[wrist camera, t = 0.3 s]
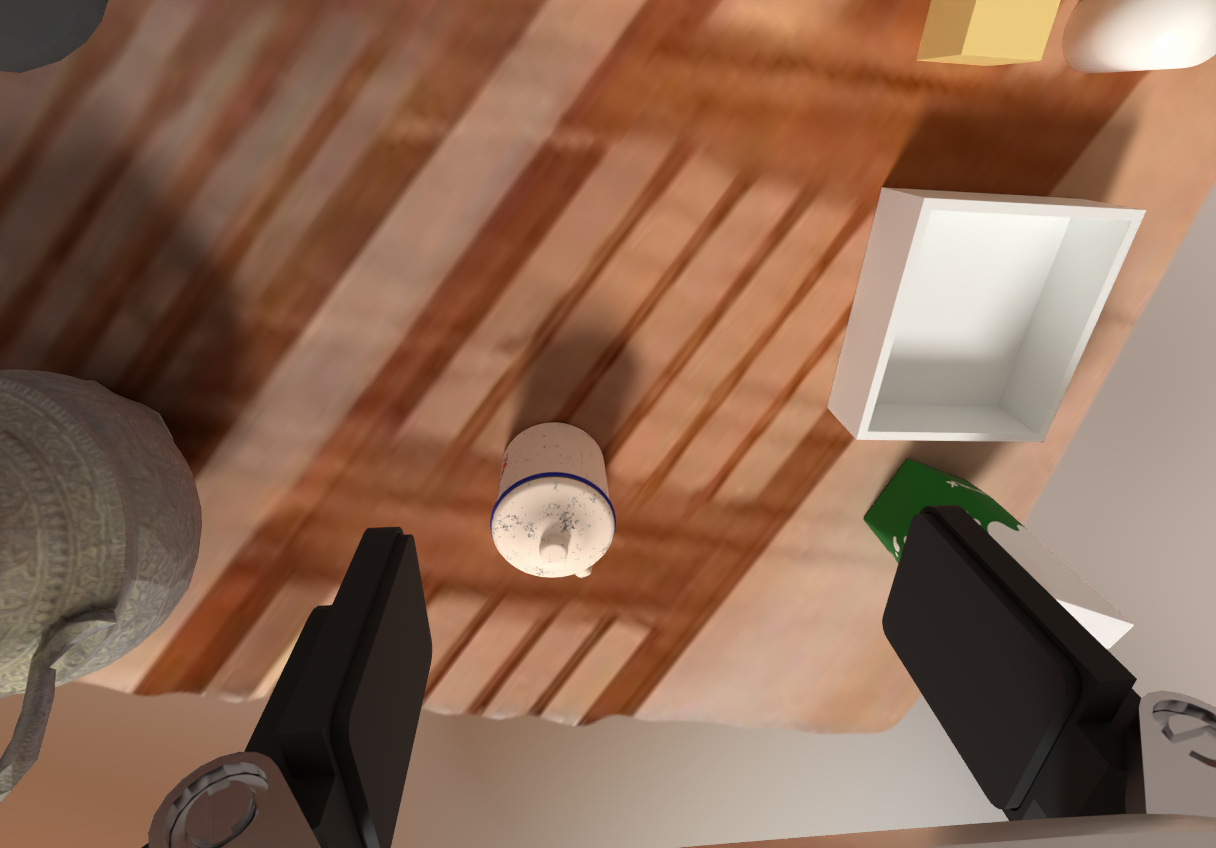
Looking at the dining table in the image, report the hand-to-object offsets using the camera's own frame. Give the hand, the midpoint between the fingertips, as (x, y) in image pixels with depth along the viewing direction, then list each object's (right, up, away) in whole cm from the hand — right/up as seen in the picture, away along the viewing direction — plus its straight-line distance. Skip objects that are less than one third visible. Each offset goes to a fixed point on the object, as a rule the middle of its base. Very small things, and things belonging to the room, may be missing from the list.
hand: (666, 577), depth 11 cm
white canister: (+31, +29, +28) cm, 51 cm away
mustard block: (+22, +29, +27) cm, 45 cm away
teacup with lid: (-5, -2, +41) cm, 41 cm away
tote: (+26, +12, +36) cm, 46 cm away
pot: (-40, +1, +37) cm, 54 cm away
